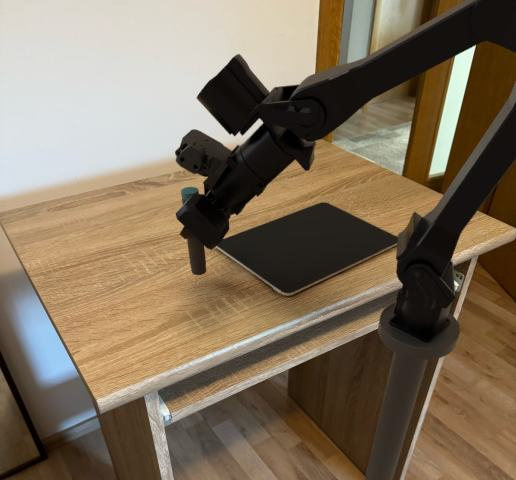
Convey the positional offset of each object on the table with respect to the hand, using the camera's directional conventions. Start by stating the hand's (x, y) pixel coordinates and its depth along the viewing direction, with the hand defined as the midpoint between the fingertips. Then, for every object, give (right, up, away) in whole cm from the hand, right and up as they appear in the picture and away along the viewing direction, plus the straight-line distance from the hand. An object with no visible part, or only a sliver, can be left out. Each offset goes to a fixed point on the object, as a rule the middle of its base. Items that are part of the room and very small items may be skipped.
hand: (186, 231), depth 71 cm
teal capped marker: (+1, -5, +4) cm, 7 cm away
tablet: (+19, +1, +14) cm, 24 cm away
